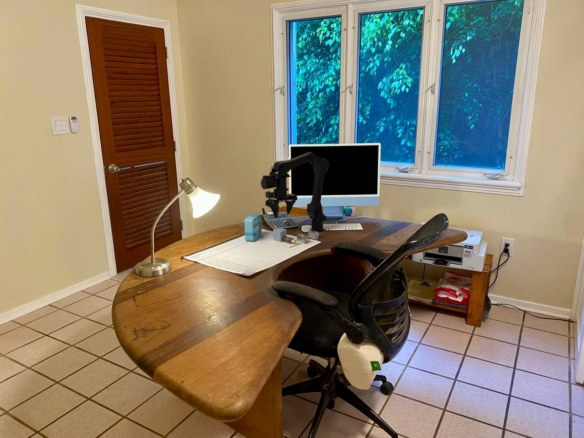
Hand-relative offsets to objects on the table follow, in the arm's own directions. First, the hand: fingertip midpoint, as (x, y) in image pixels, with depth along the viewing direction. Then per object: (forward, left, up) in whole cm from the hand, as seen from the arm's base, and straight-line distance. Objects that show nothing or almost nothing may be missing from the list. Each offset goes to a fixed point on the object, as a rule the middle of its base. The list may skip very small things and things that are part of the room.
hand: (282, 216), depth 223 cm
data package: (+11, -10, -12) cm, 19 cm away
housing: (-6, +13, -12) cm, 18 cm away
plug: (+5, +7, -11) cm, 14 cm away
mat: (+5, +7, -12) cm, 14 cm away
